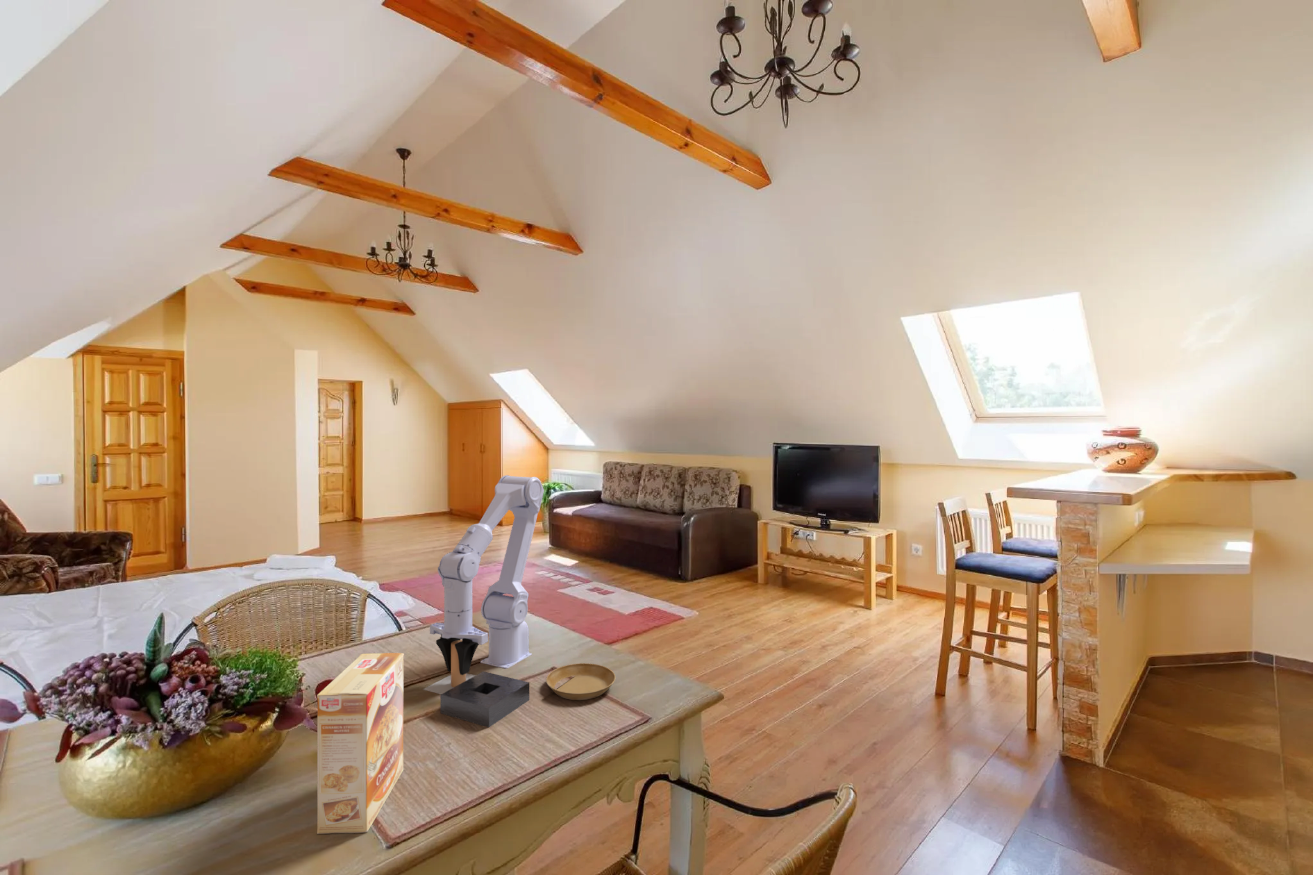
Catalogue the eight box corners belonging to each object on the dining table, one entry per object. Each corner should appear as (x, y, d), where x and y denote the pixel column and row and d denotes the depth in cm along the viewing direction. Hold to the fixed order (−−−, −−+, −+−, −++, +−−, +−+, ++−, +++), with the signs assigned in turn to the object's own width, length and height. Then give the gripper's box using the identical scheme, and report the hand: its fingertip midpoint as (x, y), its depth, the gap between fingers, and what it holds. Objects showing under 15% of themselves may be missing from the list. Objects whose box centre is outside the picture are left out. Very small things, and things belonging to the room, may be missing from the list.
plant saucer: (627, 682, 130) (627, 670, 130) (592, 711, 116) (593, 698, 116) (570, 669, 136) (571, 658, 136) (531, 696, 123) (531, 684, 123)
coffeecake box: (368, 833, 81) (367, 693, 81) (314, 835, 81) (313, 695, 80) (405, 769, 96) (405, 651, 96) (360, 771, 96) (360, 652, 95)
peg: (458, 680, 129) (458, 639, 128) (468, 682, 127) (468, 641, 127) (447, 685, 126) (447, 643, 126) (458, 688, 125) (458, 646, 124)
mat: (457, 672, 133) (457, 671, 133) (492, 681, 129) (492, 679, 129) (423, 690, 124) (423, 689, 124) (459, 700, 120) (459, 698, 120)
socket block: (483, 689, 125) (483, 671, 125) (529, 701, 120) (529, 682, 120) (440, 715, 114) (440, 694, 114) (489, 729, 109) (489, 707, 109)
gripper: (418, 609, 126) (418, 672, 126) (471, 619, 119) (471, 685, 120) (443, 600, 132) (443, 660, 132) (494, 609, 126) (494, 672, 126)
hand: (458, 671), depth 126 cm, fingers closed on peg, 3 cm apart
